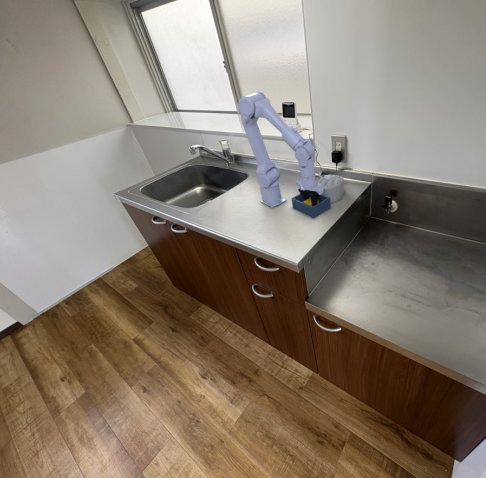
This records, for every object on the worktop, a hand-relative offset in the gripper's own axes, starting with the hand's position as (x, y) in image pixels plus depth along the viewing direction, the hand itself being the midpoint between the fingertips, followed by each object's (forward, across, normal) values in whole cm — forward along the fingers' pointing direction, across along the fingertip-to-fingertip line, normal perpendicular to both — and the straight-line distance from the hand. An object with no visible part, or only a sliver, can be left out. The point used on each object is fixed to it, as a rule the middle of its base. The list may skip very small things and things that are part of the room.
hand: (311, 204), depth 106 cm
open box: (+2, 0, 0) cm, 2 cm away
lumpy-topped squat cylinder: (+2, -1, +13) cm, 13 cm away
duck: (+1, 0, 0) cm, 1 cm away
